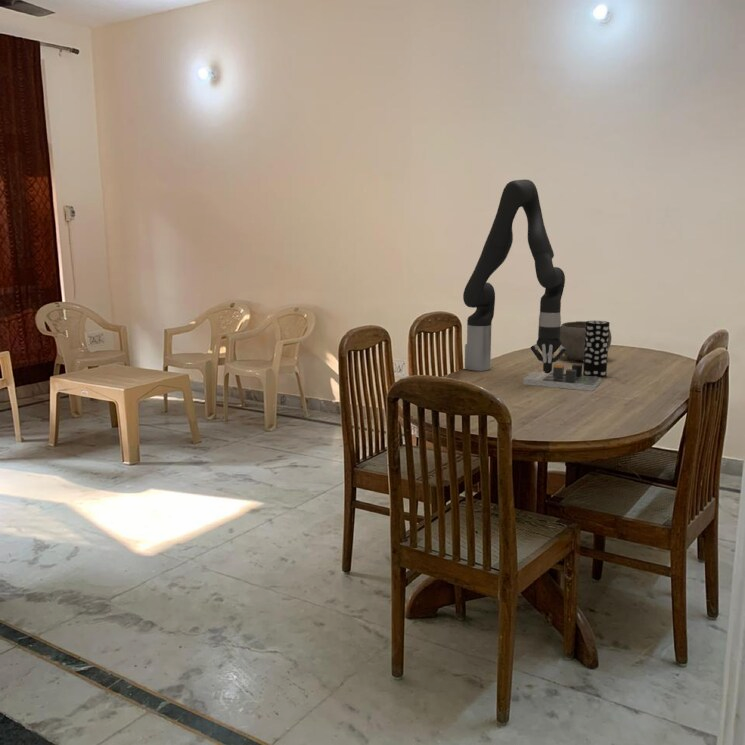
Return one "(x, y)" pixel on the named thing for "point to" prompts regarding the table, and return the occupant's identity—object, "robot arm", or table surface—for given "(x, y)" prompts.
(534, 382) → the panel
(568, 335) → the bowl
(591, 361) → the spotted tube
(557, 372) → the block
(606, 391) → the table surface
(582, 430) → the table surface
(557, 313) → the robot arm
